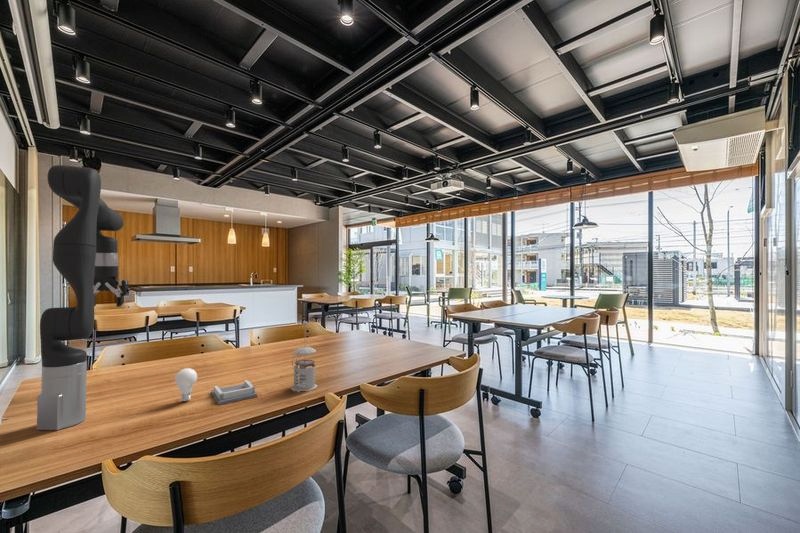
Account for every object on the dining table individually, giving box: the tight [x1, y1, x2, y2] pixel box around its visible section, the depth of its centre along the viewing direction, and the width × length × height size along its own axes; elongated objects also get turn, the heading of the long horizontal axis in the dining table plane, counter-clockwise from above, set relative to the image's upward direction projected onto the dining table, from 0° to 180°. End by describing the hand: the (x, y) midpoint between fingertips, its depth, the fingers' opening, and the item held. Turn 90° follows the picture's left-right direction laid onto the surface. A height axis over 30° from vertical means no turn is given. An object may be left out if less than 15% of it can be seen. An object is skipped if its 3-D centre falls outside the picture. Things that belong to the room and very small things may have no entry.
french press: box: [290, 320, 318, 393], centre depth 129 cm, size 10×12×25 cm
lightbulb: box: [174, 367, 198, 403], centre depth 115 cm, size 6×6×11 cm
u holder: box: [210, 379, 258, 406], centre depth 121 cm, size 14×12×3 cm
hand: (106, 306), depth 131 cm, fingers open, 8 cm apart
